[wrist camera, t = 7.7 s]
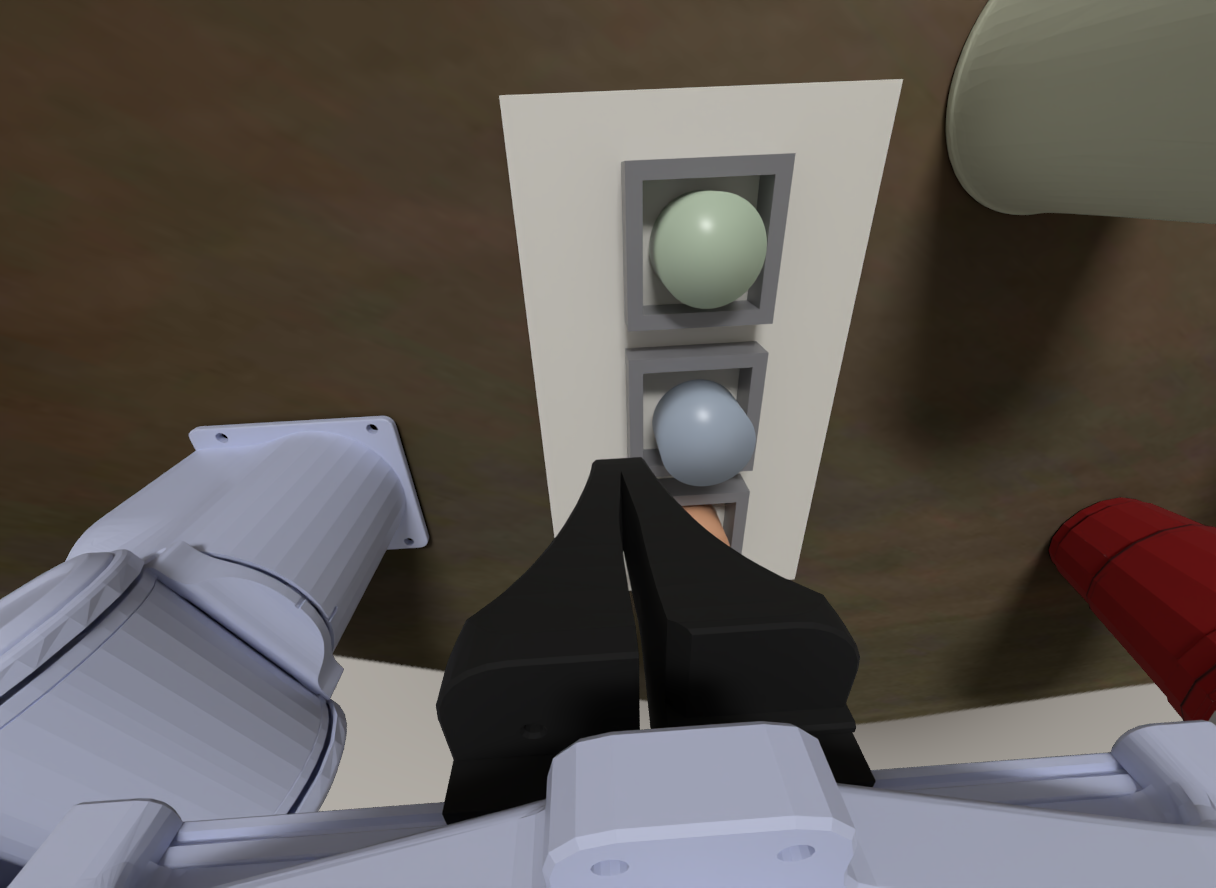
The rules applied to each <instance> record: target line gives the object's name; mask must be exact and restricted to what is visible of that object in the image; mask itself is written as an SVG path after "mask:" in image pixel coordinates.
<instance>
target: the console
mask: <svg viewBox="0 0 1216 888" xmlns="http://www.w3.org/2000/svg"><path fill="white" fill-rule="evenodd" d="M902 82H903V79H892V80H868V81H843V82H819V83H794V84H770V85H745V86H721V87H697V88H672V89H648V90H623V91H599V92H574V93H550V94H526V95H501V96H499V99H500V107H501V114H502V122H503V130H504V138H505V146H506V154H507V162H508V170H509V178H510V186H511V194H512V202H513V210H514V218H515V226H516V234H517V242H518V250H519V258H520V266H521V274H522V282H523V290H524V298H525V306H526V314H527V322H528V330H529V338H530V346H531V354H532V362H533V370H534V378H535V386H536V394H537V402H538V410H539V418H540V426H541V434H542V442H543V450H544V458H545V466H546V474H547V482H548V490H549V498H550V506H551V514H552V522H553V529H554V537H556V536H557V535H558V533H559V532H560V530H561V529H562V527H563V526H564V524H565V523H566V521H567V519H568V518H569V516H570V514H571V513H572V511H573V509H574V508H575V506H576V504H577V502H578V500H579V498H580V496H581V494H582V492H583V490H584V487H585V485H586V483H587V480H588V477H589V474H590V471H591V467H592V463H593V462H594V461H595V460H599V459H616V458H633V457H642V458H643V459H644V460H645V461H646V463H647V465H648V466H649V468H650V469H651V470H652V472H653V473H654V475H655V476H656V477H657V479H658V480H659V481H660V482H661V484H662V485H663V486H664V487H665V488H666V490H667V491H668V492H669V493H670V494H671V495H672V496H673V498H674V499H675V500H676V501H677V502H678V503H679V504H680V505H681V506H687V505H702V504H711V505H712V506H713V507H714V508H715V510H716V512H717V515H718V517H719V519H720V522H721V524H722V527H723V529H724V532H725V534H726V537H727V539H728V541H729V544H730V547H731V548H733V549H734V550H736V551H737V552H739V553H740V554H742V555H743V556H745V557H747V558H748V559H750V560H752V561H753V562H755V563H757V564H759V565H760V566H762V567H764V568H766V569H768V570H770V571H772V572H774V573H776V574H778V575H779V576H781V577H784V578H786V579H795V574H796V570H797V565H798V561H799V556H800V551H801V547H802V542H803V538H804V533H805V528H806V524H807V519H808V515H809V510H810V505H811V501H812V496H813V491H814V487H815V482H816V478H817V473H818V468H819V464H820V459H821V455H822V450H823V445H824V441H825V436H826V432H827V427H828V422H829V418H830V413H831V409H832V404H833V399H834V395H835V390H836V386H837V381H838V376H839V372H840V367H841V363H842V358H843V353H844V349H845V344H846V340H847V335H848V330H849V326H850V321H851V316H852V312H853V307H854V303H855V298H856V293H857V289H858V284H859V280H860V275H861V270H862V266H863V261H864V257H865V252H866V247H867V243H868V238H869V234H870V229H871V224H872V220H873V215H874V211H875V206H876V201H877V197H878V192H879V188H880V183H881V178H882V174H883V169H884V165H885V160H886V155H887V151H888V146H889V142H890V137H891V132H892V128H893V123H894V118H895V114H896V109H897V105H898V100H899V95H900V91H901V86H902ZM695 190H712V191H722V192H729V193H733V194H736V195H738V196H740V197H742V198H744V199H745V200H747V201H748V202H749V203H750V204H751V205H752V206H753V207H754V208H755V209H756V210H757V212H758V213H759V215H760V217H761V219H762V221H763V224H764V227H765V231H766V236H767V251H766V256H765V261H764V264H763V267H762V269H761V271H760V274H759V275H758V277H757V279H756V280H755V282H754V283H753V285H752V286H751V287H750V288H749V289H748V290H747V291H746V292H745V293H744V294H743V295H742V296H741V297H739V298H738V299H736V300H735V301H733V302H731V303H729V304H727V305H724V306H722V307H718V308H712V309H700V308H695V307H691V306H688V305H686V304H684V303H682V302H681V301H679V300H678V299H677V298H675V297H674V296H673V295H672V294H671V293H670V291H669V290H668V289H667V288H666V286H665V285H664V284H663V283H662V281H661V280H660V279H659V278H658V276H657V275H656V273H655V271H654V269H653V267H652V264H651V260H650V255H649V240H650V235H651V231H652V228H653V225H654V223H655V221H656V219H657V217H658V216H659V214H660V213H661V211H662V210H663V209H664V208H665V207H666V206H667V205H668V204H669V203H670V202H671V201H672V200H673V199H675V198H677V197H678V196H680V195H682V194H684V193H687V192H690V191H695ZM697 379H704V380H710V381H714V382H716V383H719V384H721V385H722V386H724V387H725V388H726V389H728V390H729V392H730V393H731V394H732V395H733V397H734V398H735V399H736V401H737V402H738V404H739V405H740V407H741V408H742V409H743V411H744V412H745V414H746V415H747V416H748V418H749V419H750V421H751V422H752V424H753V427H754V430H755V434H756V444H755V449H754V452H753V455H752V457H751V459H750V460H749V462H748V463H747V465H746V466H745V467H744V468H743V469H742V470H741V471H740V472H739V473H738V474H736V475H735V476H734V477H732V478H730V479H729V480H727V481H725V482H722V483H719V484H716V485H711V486H692V485H688V484H685V483H682V482H680V481H678V480H677V479H675V478H674V477H673V476H672V475H671V474H670V473H669V472H668V471H667V470H666V468H665V466H664V464H663V462H662V459H661V455H660V452H659V449H658V445H657V442H656V438H655V435H654V431H653V425H652V420H653V414H654V410H655V408H656V406H657V404H658V402H659V401H660V399H661V398H662V397H663V396H664V395H665V393H667V392H668V391H669V390H670V389H672V388H673V387H675V386H677V385H679V384H681V383H683V382H686V381H690V380H697ZM623 556H624V551H623ZM624 564H625V570H626V576H627V583H628V589H629V591H630V590H632V589H631V585H630V580H629V575H628V570H627V566H626V561H625V556H624Z"/></svg>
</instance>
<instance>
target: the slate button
mask: <svg viewBox="0 0 1216 888" xmlns="http://www.w3.org/2000/svg"><path fill="white" fill-rule="evenodd" d="M652 425H653V431H654V435H655V438H656V442H657V445H658V449H659V452H660V455H661V459H662V462H663V464H664V466H665V468H666V470H667V471H668V472H669V473H670V474H671V475H672V476H673V477H674V478H675V479H677V480H678V481H680V482H682V483H685V484H688V485H692V486H711V485H716V484H719V483H722V482H725V481H727V480H729V479H730V478H732V477H734V476H735V475H736V474H738V473H739V472H740V471H741V470H742V469H743V468H744V467H745V466H746V465H747V463H748V462H749V460H750V459H751V457H752V455H753V452H754V449H755V444H756V434H755V430H754V427H753V424H752V422H751V421H750V419H749V418H748V416H747V415H746V414H745V412H744V411H743V409H742V408H741V407H740V405H739V404H738V402H737V401H736V399H735V398H734V397H733V395H732V394H731V393H730V392H729V390H728V389H726V388H725V387H724V386H722V385H721V384H719V383H716V382H714V381H710V380H704V379H697V380H690V381H686V382H683V383H681V384H679V385H677V386H675V387H673V388H672V389H670V390H669V391H668V392H667V393H665V395H664V396H663V397H662V398H661V399H660V401H659V402H658V404H657V406H656V408H655V410H654V414H653V420H652Z"/></svg>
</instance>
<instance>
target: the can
mask: <svg viewBox="0 0 1216 888" xmlns="http://www.w3.org/2000/svg"><path fill="white" fill-rule="evenodd" d="M946 141H947V149H948V154H949V159H950V162H951V164H952V167H953V170H954V173H955V175H956V177H957V178H958V180H959V182H960V183H961V185H962V187H963V188H964V189H965V190H966V191H967V193H968V194H969V195H970V196H972V197H973V198H974V199H975V200H976V201H977V202H979V203H980V204H982V205H984V206H985V207H988V208H990V209H992V210H994V211H998V212H1001V213H1006V214H1012V215H1032V214H1039V213H1068V214H1084V215H1100V216H1115V217H1128V218H1141V219H1155V220H1168V221H1182V222H1195V223H1209V224H1216V0H989V1H988V2H987V4H986V6H985V7H984V9H983V10H982V12H981V14H980V15H979V17H978V19H977V21H976V23H975V24H974V26H973V28H972V30H971V32H970V35H969V37H968V39H967V41H966V43H965V45H964V47H963V50H962V53H961V55H960V58H959V61H958V64H957V66H956V69H955V72H954V76H953V79H952V83H951V87H950V92H949V97H948V103H947V112H946Z"/></svg>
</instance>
